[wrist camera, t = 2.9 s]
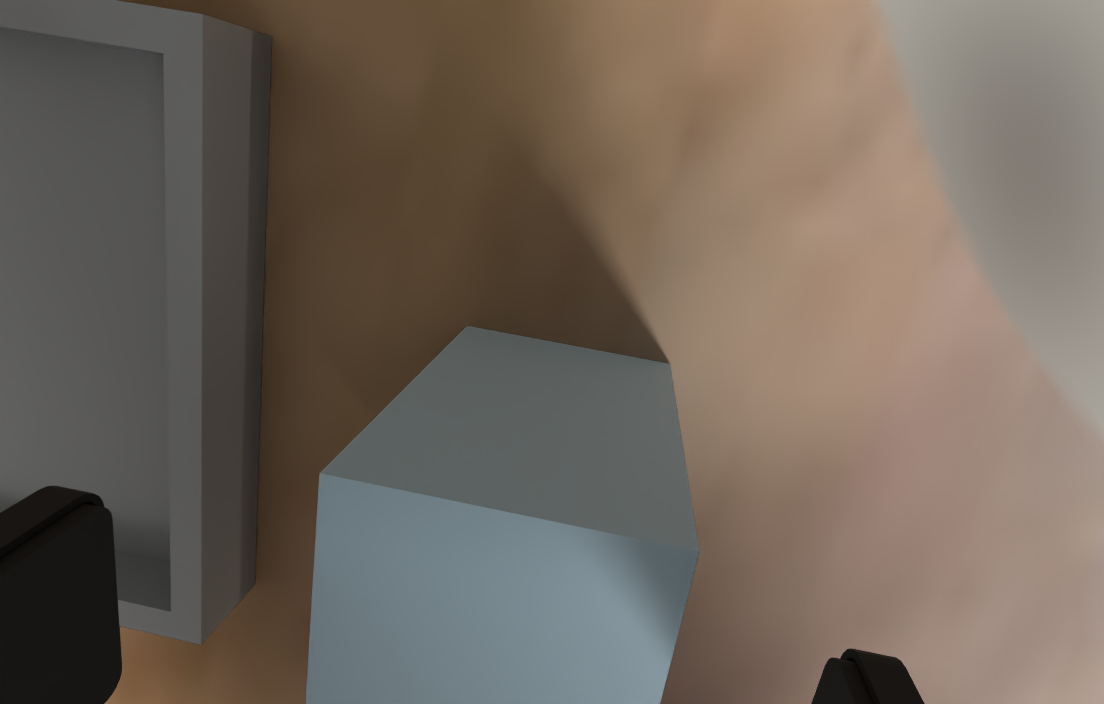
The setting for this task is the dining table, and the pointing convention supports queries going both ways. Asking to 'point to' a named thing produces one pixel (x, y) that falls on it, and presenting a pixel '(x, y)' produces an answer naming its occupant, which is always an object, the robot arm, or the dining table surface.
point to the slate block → (506, 534)
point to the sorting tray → (137, 288)
